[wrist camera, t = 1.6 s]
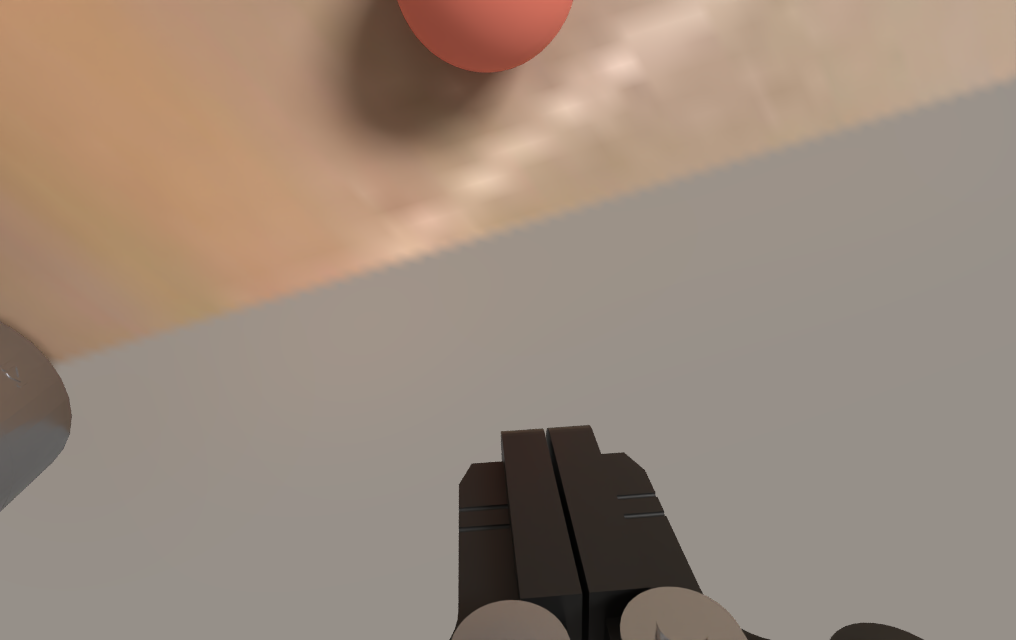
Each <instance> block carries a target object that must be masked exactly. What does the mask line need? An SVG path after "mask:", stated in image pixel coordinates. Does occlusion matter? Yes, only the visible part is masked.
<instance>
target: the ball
mask: <svg viewBox="0 0 1016 640" xmlns="http://www.w3.org/2000/svg"><path fill="white" fill-rule="evenodd" d="M572 2H573V0H398V4H399V6H400V9H401V11H402V14H403V16H404V18H405V20H406V21H407V23H408V25H409V27H410V28H411V30H412V31H413V33H414V34H415V35H416V37H417V38H418V39H419V40H420V41H421V42H422V44H423V45H424V46H425V47H426V48H427V49H429V50H430V51H431V52H432V53H433V54H434V55H436V56H437V57H439V58H440V59H442V60H443V61H445V62H447V63H449V64H451V65H453V66H455V67H458V68H461V69H465V70H468V71H474V72H488V73H490V72H499V71H504V70H508V69H512V68H514V67H517V66H519V65H522V64H524V63H525V62H527V61H529V60H530V59H532V58H534V57H535V56H536V55H537V54H539V53H540V52H541V51H542V50H543V49H544V48H545V47H546V46H547V45H548V44H549V43H550V42H551V41H552V40H553V38H554V37H555V36H556V35H557V33H558V32H559V30H560V29H561V27H562V25H563V24H564V22H565V20H566V18H567V16H568V13H569V11H570V9H571V5H572Z"/></svg>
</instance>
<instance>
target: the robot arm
mask: <svg viewBox="0 0 1016 640" xmlns="http://www.w3.org/2000/svg"><path fill="white" fill-rule="evenodd" d="M71 418H72V414H71V408H70V402H69V397H68V394H67V392H66V389H65V387H64V384H63V382H62V380H61V378H60V376H59V375H58V373H57V372H56V370H55V369H54V367H53V366H52V364H51V363H50V361H49V360H48V359H47V358H46V357H45V356H44V355H43V354H42V353H41V352H40V351H39V349H38V348H37V347H36V346H35V345H34V344H33V343H32V342H30V341H29V340H28V339H26V338H25V337H24V336H22V335H21V334H20V333H18V332H17V331H15V330H14V329H13V328H11V327H10V326H8V325H6V324H4V323H2V322H0V511H1V510H2V509H4V507H6V506H7V505H8V504H9V503H10V502H11V501H12V500H13V499H14V498H15V497H16V496H17V495H18V494H19V493H20V492H22V491H23V490H24V489H25V488H26V487H27V486H28V485H29V484H30V483H31V482H32V481H33V480H34V479H35V478H36V477H37V476H39V475H40V474H41V473H42V472H43V471H44V470H45V469H46V468H47V467H48V466H49V465H50V464H51V463H52V462H53V461H54V460H55V459H56V457H57V456H58V455H59V454H60V452H61V451H62V450H63V448H64V446H65V444H66V441H67V439H68V437H69V434H70V427H71ZM501 450H502V462H488V463H475V464H471V466H470V468H469V469H468V471H467V473H466V474H465V476H464V477H463V479H462V481H461V482H460V484H459V603H458V605H459V606H458V607H459V609H458V620H457V624H456V627H455V630H454V632H453V634H452V636H451V638H450V640H769V639H765V638H762V637H759V636H756V635H754V634H751V633H749V632H747V631H745V630H743V629H741V628H740V626H739V625H738V623H737V622H736V620H735V619H734V618H733V616H731V614H730V613H729V612H728V611H727V610H726V609H724V608H723V607H722V606H721V605H720V604H719V603H717V602H716V601H714V600H712V599H711V598H709V597H707V596H705V595H703V593H702V591H701V589H700V588H699V585H698V583H697V581H696V579H695V577H694V575H693V573H692V570H691V568H690V566H689V564H688V562H687V559H686V557H685V555H684V553H683V551H682V549H681V547H680V544H679V543H678V540H677V538H676V536H675V534H674V532H673V529H672V527H671V525H670V523H669V521H668V519H667V517H666V516H665V515H664V510H663V508H662V506H661V504H660V502H659V499H658V497H656V496H655V491H654V489H653V487H652V484H651V482H650V480H649V478H648V476H647V474H646V472H645V470H644V469H643V468H642V467H640V466H639V465H638V464H637V463H636V462H635V461H633V460H632V459H631V458H630V457H628V456H627V455H626V454H625V453H610V454H601V452H600V450H599V447H598V444H597V442H596V439H595V436H594V433H593V431H592V428H591V427H590V425H584V426H570V427H556V428H547V431H546V437H545V433H544V430H543V429H529V430H516V431H501ZM830 640H923V639H921V638H919V637H917V636H915V635H913V634H911V633H909V632H906V631H904V630H901V629H898V628H895V627H891V626H887V625H883V624H876V623H858V624H852V625H848V626H845V627H843V628H841V629H840V630H838V631H837V632H836V633H835V634H834V635H833V636H832V637H831V639H830Z"/></svg>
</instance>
